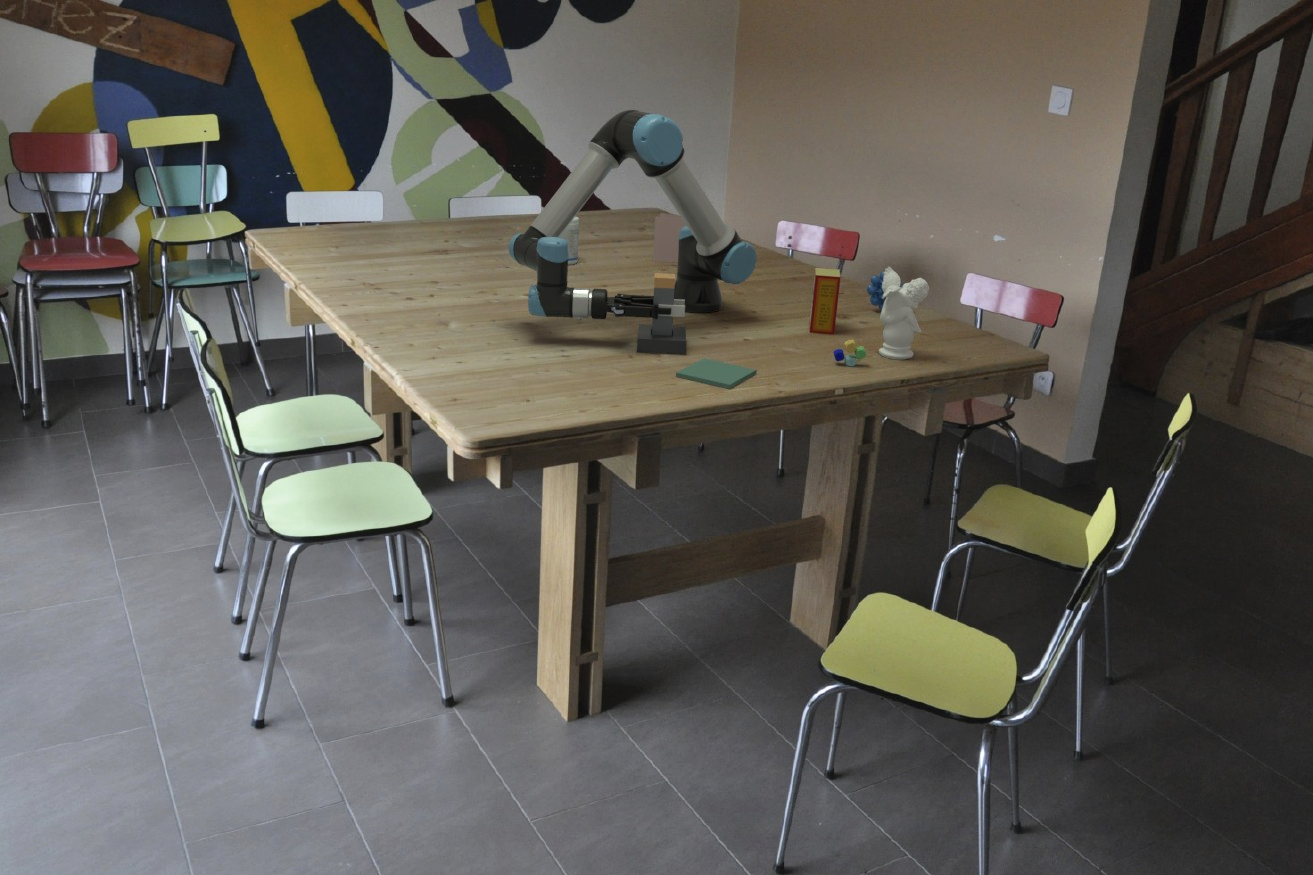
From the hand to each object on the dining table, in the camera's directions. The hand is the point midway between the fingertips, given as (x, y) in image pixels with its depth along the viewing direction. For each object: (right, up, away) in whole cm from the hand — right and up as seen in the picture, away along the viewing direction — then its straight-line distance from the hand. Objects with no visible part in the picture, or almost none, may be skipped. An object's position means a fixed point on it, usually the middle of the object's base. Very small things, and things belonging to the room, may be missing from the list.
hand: (684, 308), depth 276 cm
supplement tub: (-37, +25, +85) cm, 96 cm away
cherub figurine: (+52, -12, +5) cm, 54 cm away
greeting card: (-3, +26, +94) cm, 98 cm away
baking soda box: (+38, -3, +26) cm, 46 cm away
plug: (-6, -9, +4) cm, 11 cm away
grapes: (+59, +4, +45) cm, 74 cm away
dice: (+40, -14, -3) cm, 43 cm away
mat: (+7, -18, -16) cm, 25 cm away
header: (-6, -9, +4) cm, 11 cm away
